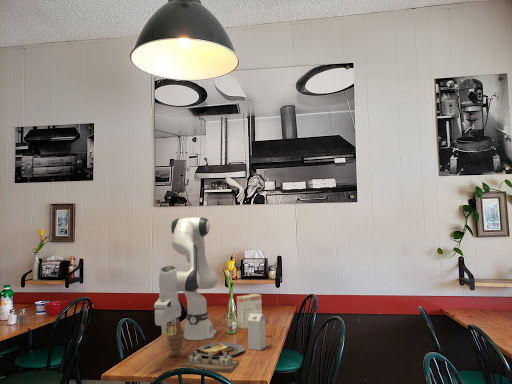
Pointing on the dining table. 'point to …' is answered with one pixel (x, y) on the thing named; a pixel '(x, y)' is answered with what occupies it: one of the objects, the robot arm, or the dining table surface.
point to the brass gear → (170, 330)
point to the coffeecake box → (247, 308)
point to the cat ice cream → (176, 340)
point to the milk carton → (256, 331)
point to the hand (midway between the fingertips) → (168, 330)
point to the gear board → (213, 366)
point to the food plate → (219, 349)
